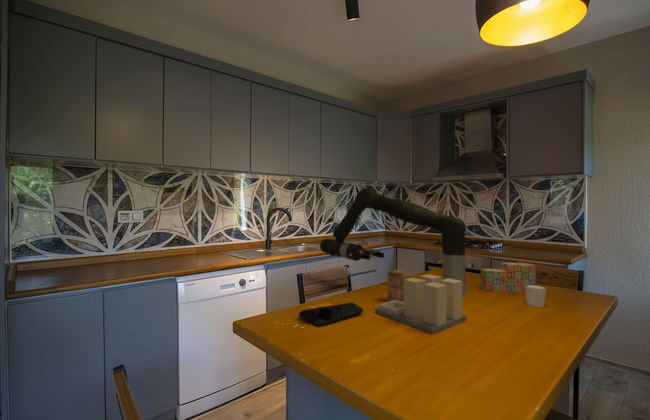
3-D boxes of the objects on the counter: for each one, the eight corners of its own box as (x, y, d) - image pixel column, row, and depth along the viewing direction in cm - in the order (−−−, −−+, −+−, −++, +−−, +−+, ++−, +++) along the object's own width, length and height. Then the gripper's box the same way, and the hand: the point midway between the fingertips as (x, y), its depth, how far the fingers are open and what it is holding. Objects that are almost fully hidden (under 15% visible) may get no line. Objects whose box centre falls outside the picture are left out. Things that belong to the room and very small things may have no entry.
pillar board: (409, 302, 128) (409, 269, 127) (466, 320, 108) (466, 280, 108) (375, 312, 116) (375, 275, 116) (432, 334, 97) (432, 289, 97)
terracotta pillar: (396, 299, 133) (396, 270, 133) (406, 302, 129) (406, 272, 129) (388, 301, 130) (388, 271, 130) (397, 304, 126) (397, 273, 126)
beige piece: (527, 306, 123) (527, 288, 123) (523, 301, 130) (523, 284, 130) (548, 308, 121) (548, 289, 121) (543, 303, 127) (543, 285, 127)
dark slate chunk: (369, 317, 113) (369, 304, 112) (314, 330, 102) (314, 315, 101) (345, 305, 126) (345, 293, 126) (294, 315, 115) (294, 302, 115)
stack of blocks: (485, 291, 144) (486, 264, 144) (480, 288, 151) (480, 261, 150) (536, 292, 143) (536, 265, 142) (528, 289, 149) (528, 262, 149)
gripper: (339, 244, 147) (364, 248, 134) (362, 242, 155) (388, 246, 142) (339, 260, 147) (364, 266, 134) (362, 258, 155) (387, 263, 142)
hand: (376, 256), depth 138 cm, fingers open, 8 cm apart
